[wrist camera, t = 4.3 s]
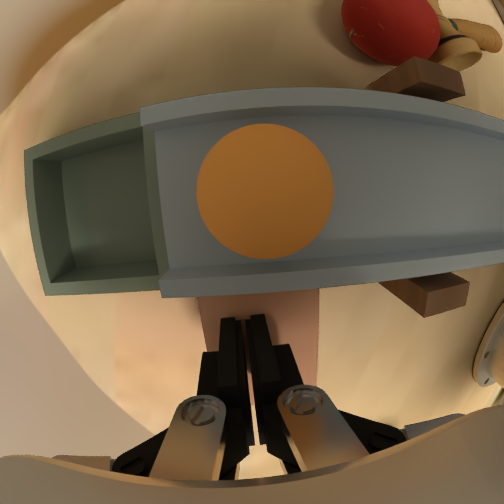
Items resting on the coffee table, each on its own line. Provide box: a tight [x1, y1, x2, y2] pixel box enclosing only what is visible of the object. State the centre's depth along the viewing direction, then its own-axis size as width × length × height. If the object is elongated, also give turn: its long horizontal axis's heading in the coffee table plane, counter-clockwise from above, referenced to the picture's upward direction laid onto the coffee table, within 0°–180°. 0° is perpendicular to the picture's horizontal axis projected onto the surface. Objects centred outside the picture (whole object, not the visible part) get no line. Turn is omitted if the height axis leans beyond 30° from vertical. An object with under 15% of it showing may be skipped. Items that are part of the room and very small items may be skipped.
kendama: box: [342, 0, 502, 71], centre depth 10 cm, size 8×6×18 cm
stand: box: [362, 56, 470, 318], centre depth 11 cm, size 21×9×8 cm, turn 95°
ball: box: [196, 124, 334, 259], centre depth 7 cm, size 4×4×4 cm
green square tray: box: [24, 112, 170, 296], centre depth 13 cm, size 8×8×4 cm
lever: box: [140, 87, 504, 405], centre depth 9 cm, size 20×12×4 cm, turn 95°
